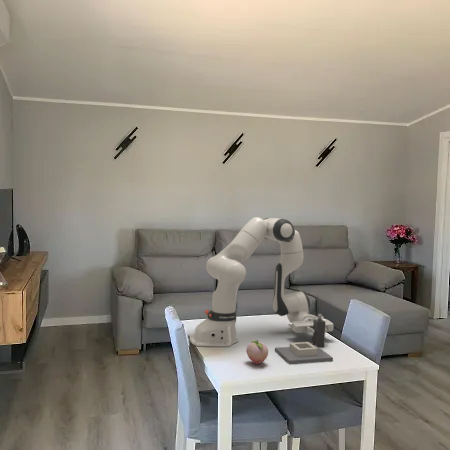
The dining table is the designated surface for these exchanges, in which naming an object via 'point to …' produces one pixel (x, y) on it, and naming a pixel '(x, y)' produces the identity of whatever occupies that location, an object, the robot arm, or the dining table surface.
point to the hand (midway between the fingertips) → (319, 331)
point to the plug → (319, 332)
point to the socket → (303, 353)
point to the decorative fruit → (257, 351)
